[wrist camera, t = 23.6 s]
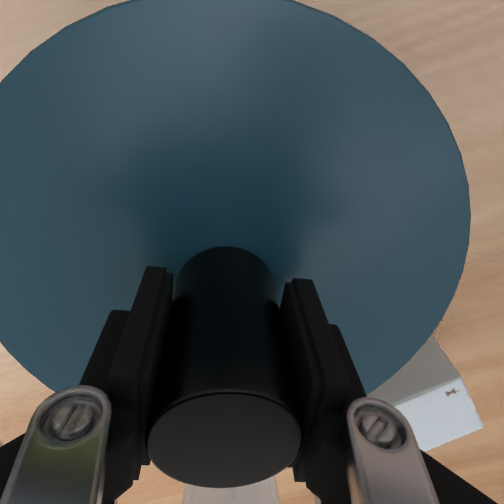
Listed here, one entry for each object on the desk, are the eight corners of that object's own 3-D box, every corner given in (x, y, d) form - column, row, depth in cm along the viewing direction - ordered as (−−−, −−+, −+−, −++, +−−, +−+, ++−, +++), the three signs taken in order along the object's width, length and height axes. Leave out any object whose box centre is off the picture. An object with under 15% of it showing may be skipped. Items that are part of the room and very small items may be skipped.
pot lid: (185, -205, 7) (46, -1092, 2) (532, 248, 14) (764, 400, 8) (-105, 290, 13) (-385, 497, 7) (241, 457, 19) (249, 642, 13)
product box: (338, 335, 29) (369, 415, 23) (410, 300, 28) (464, 376, 22) (367, 378, 32) (401, 461, 26) (433, 349, 31) (488, 429, 24)
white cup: (257, 456, 37) (267, 585, 28) (179, 447, 35) (164, 579, 26) (284, 406, 33) (304, 535, 24) (198, 392, 31) (187, 525, 23)
